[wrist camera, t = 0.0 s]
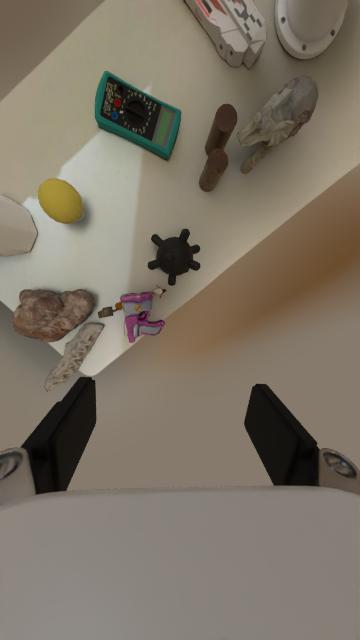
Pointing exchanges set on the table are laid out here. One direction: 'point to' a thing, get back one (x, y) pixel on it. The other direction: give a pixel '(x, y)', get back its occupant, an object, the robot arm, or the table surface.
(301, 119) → the figurine
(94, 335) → the fossil
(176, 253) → the toy ball
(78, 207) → the yellow light bulb
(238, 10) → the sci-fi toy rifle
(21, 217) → the cup
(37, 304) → the rock
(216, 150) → the peg mid
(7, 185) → the table surface
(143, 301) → the toy gun
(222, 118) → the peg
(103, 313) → the key tag
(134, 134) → the digital multimeter
